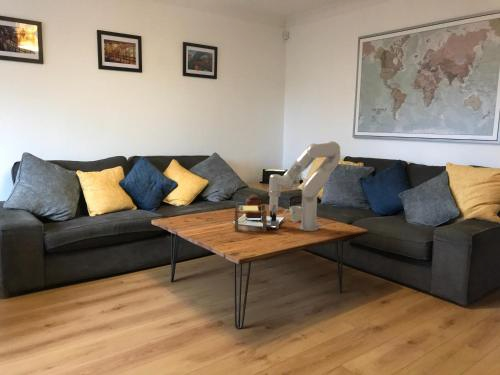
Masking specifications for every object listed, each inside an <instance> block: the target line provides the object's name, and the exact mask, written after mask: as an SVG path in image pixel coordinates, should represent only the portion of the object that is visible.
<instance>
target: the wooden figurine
mask: <svg viewBox="0 0 500 375" xmlns="http://www.w3.org/2000/svg"><path fill="white" fill-rule="evenodd" d="M244 205H262V200H261V197H260V196H259V195H257V194H252V195H249V197H247V198H246V199H245V204H244ZM258 210H259V211H262V207H258ZM246 217H247V218H261V219H262V213H245V218H246Z"/></svg>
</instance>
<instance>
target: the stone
mask: <svg viewBox="0 0 500 375" xmlns="http://www.w3.org/2000/svg"><path fill="white" fill-rule="evenodd" d="M279 223H280V221H279V219H277V218H276V221H271V220H270V223H269V224H271V226H276V227H277V228H276V229H277V230H278V229H280V227H279V226H280V224H279Z"/></svg>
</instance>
